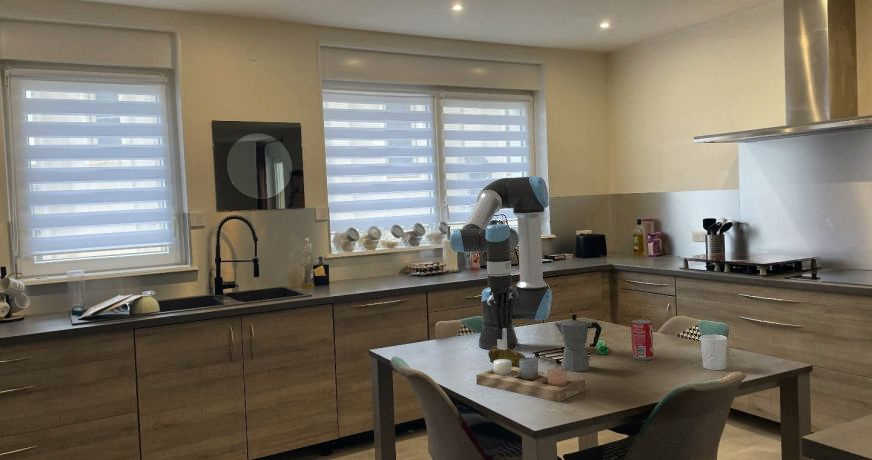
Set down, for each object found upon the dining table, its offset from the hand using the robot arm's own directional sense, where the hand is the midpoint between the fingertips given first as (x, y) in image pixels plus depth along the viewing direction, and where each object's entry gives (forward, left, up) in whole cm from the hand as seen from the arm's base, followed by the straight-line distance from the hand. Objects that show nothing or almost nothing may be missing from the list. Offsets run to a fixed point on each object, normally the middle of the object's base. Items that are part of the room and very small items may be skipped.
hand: (502, 348), depth 208 cm
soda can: (+22, +50, -11) cm, 56 cm away
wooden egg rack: (+10, 0, -10) cm, 15 cm away
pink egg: (+20, -1, -9) cm, 22 cm away
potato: (-8, +13, -11) cm, 18 cm away
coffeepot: (+11, +27, -11) cm, 31 cm away
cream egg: (0, 0, -9) cm, 9 cm away
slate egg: (+10, 0, -7) cm, 12 cm away
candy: (+5, +52, -11) cm, 54 cm away
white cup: (+46, +52, -11) cm, 70 cm away
